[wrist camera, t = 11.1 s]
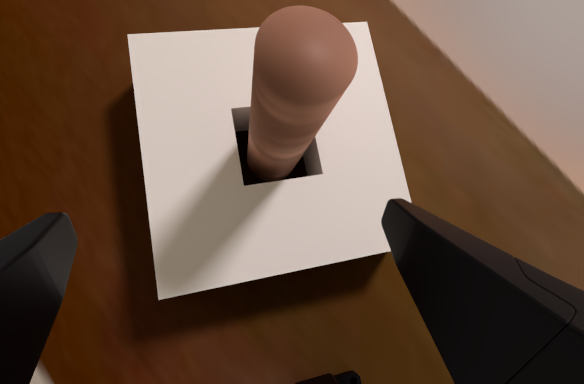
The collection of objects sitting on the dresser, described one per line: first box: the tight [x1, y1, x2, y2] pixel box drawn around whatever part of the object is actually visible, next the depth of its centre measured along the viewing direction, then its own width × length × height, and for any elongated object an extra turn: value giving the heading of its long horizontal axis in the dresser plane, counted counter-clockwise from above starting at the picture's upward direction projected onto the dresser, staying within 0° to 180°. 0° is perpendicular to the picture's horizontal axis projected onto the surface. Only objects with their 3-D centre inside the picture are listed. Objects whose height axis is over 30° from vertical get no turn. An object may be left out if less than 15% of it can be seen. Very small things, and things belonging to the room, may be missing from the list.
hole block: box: [127, 22, 411, 300], centre depth 21 cm, size 16×16×4 cm
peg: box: [247, 6, 358, 182], centre depth 17 cm, size 4×4×13 cm
